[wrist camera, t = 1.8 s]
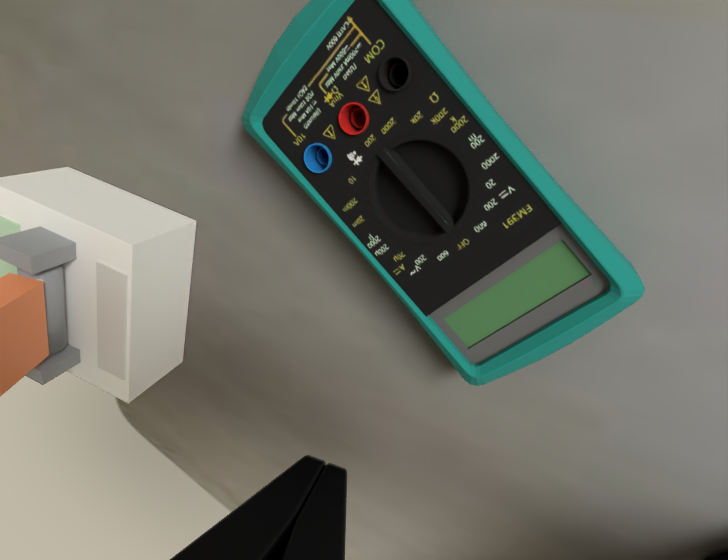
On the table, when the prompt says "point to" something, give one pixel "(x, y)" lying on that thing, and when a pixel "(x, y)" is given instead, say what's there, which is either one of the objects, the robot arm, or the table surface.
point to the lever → (30, 321)
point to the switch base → (103, 275)
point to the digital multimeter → (434, 187)
